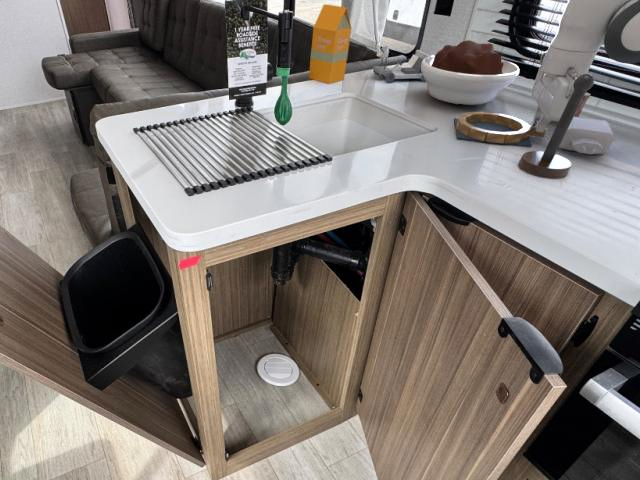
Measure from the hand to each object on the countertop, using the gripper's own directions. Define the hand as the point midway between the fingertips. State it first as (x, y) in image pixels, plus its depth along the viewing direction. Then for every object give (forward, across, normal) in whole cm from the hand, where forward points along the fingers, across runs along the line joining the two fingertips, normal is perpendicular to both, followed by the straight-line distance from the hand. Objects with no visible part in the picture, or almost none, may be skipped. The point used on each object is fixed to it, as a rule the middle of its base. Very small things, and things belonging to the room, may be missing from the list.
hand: (537, 128), depth 102 cm
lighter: (+2, +13, -8) cm, 15 cm away
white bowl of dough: (+2, +25, +15) cm, 29 cm away
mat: (+2, 0, +10) cm, 10 cm away
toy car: (+2, +45, +33) cm, 56 cm away
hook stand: (+2, -19, +2) cm, 19 cm away
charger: (+2, -5, -9) cm, 10 cm away
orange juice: (+2, +36, +55) cm, 66 cm away
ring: (+2, 0, +8) cm, 8 cm away
